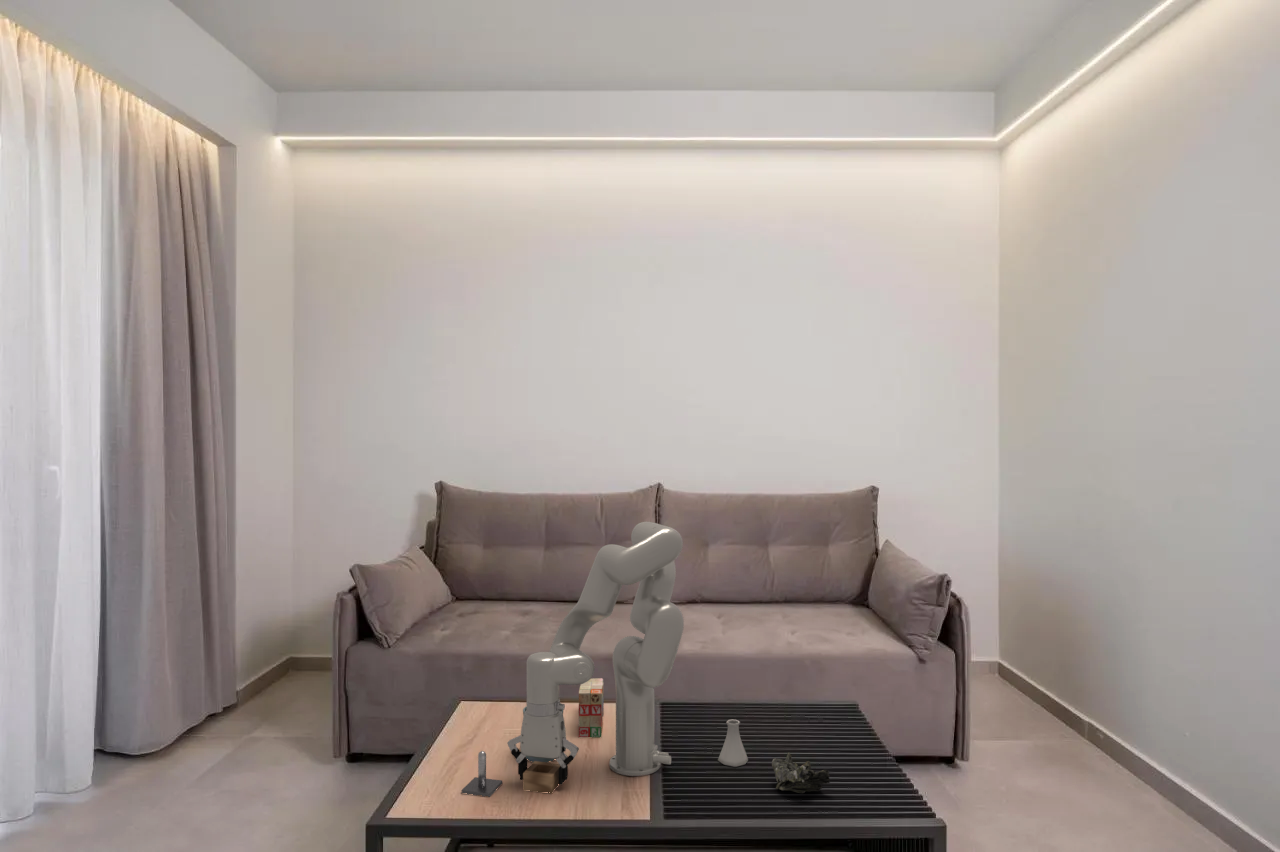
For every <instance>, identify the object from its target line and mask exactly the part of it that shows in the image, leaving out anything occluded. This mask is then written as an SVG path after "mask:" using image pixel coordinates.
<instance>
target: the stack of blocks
mask: <svg viewBox="0 0 1280 852" xmlns="http://www.w3.org/2000/svg"><path fill="white" fill-rule="evenodd" d="M604 697H605V694H604V678H602V677H599V678H598V677H597V678H593V677H592V678H591V679H590V680H589V681H587V682H586V683H583V684H580V686H579V689H578V738H579V737H592V738H600V737H601V738H602V735H603V725H604V722H603V721H604V718H603V717H604V712H605V711H604V706H605V704H604V702H605V701H604Z"/></svg>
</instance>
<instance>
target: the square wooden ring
mask: <svg viewBox="0 0 1280 852" xmlns="http://www.w3.org/2000/svg"><path fill="white" fill-rule="evenodd" d="M559 767H560V764H559V763H554V762H538V761H534V762H531V764H530V765H529V766H527V770H526V771H525V772H524V773H523V780H522V790H530V791H529V792H531V791H538V792H537V793H539V792H548V793H549V792H550V793H552V792H553V790H554V789H555V788H556V787H557V786H558V784H559ZM558 787H559V786H558ZM558 787H557V788H558ZM557 788H556V789H557ZM556 789H555V790H556ZM553 793H554V792H553ZM553 793H552V794H553Z"/></svg>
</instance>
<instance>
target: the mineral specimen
mask: <svg viewBox="0 0 1280 852" xmlns="http://www.w3.org/2000/svg"><path fill="white" fill-rule="evenodd" d="M771 766H772V767H771V768H772V769H773V772H774V776H775V780H776V782H777V784H776V787H775V789H776V790H781V791H791V792H794V793H798V794H805V792H820V791H821V789H823V784H824V785H826V784H830V783H831V782H830V774H829V773H830V770H828V769H823V770H820V771H819V770H818V771H817V772H816V771H815V770H812V765H811V761H809V760H808V761H805V762H804V764H802V765H801V766H799V765H798V764H797V762H796V761H795V762H793V759H792V755H791V753H790V752H787V754H786V758H785V760H784V759H782V758H780V757H779V758H777V757H774V758H772V761H771Z"/></svg>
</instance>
